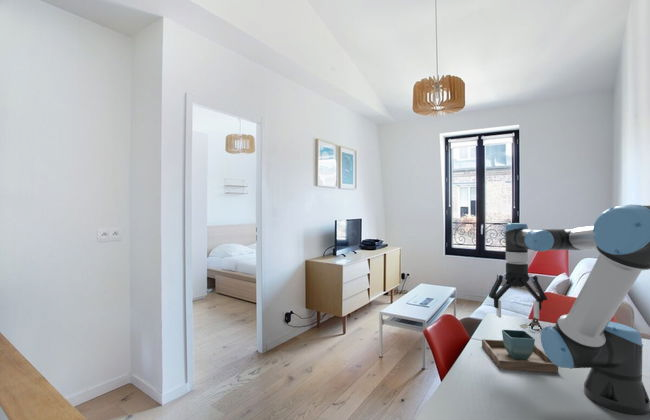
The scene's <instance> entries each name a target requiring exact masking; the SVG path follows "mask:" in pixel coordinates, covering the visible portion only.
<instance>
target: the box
mask: <svg viewBox="0 0 650 420" xmlns="http://www.w3.org/2000/svg"><path fill="white" fill-rule="evenodd" d="M481 347H482V348H483V350H484V351H485V352H486V353H487V355H488V357H490V358H491V360H492V361H493V363H494V364H495V365H496V366H497V368H498V369H499V370H510V371H511V370H513V371H524V372H525V371H528V372H541V373H542V372H544V373H555V374H556V373H557V374H559V367H558V366H556V365H555V364H553V363H552V362H551V361H550V360H549V358H548V357H547V355H546V354H545V352H544V350H542V349H541V348H540V347H538V345H536V344H535V343H534V349H533V352H532V355H531V356H530V357H529V358H528V359H527V360H524V359H513V358H512V357H511V356H510V355H509V354H508V352H507V350H506V348H505V346H504V343H503V339H486V338H485V339H484V338H483V339H481Z"/></svg>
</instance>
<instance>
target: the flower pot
mask: <svg viewBox="0 0 650 420" xmlns="http://www.w3.org/2000/svg"><path fill="white" fill-rule="evenodd" d="M501 335H502V340H503V343H504V346H505V348H506V350H507V352H508V354H509V355H510V356H511V357H512V358H513V359H524V360H527V359H528V358H529V357H530V356H531V355H532V352H533V349H534V344H535V342H536V339H535V338H534V337H533V336H532V335H531V334H530V333H528V332H527V331H525V330H518V329H517V330H516V329H514V330H513V329H501Z"/></svg>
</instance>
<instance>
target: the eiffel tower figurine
mask: <svg viewBox="0 0 650 420" xmlns="http://www.w3.org/2000/svg"><path fill="white" fill-rule="evenodd" d="M527 324H528V323H523V324H519V328H521V329H524V330H527V329H526V328H528V326H531V329H530V330H529V332H530V333H534V334H536V331H535V332H533V331H532V330H534V329H533V327H534V326H538V327H540V329H541V330H540V331H542V329H543V328H542V326H541V323H540V322H539V319H536V318H535V317H534V316H533V317H532V320H531V322H530V324H529V325H527ZM531 331H532V332H531Z"/></svg>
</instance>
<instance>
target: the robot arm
mask: <svg viewBox="0 0 650 420" xmlns="http://www.w3.org/2000/svg"><path fill="white" fill-rule="evenodd" d="M504 238H505V239H504V241H505V242H504V243H505V261H506V263H505V275H504V274H499V273H498V274H496V280H495V282H494V283H493V286H492V287H491V289H490V292H489V293H488V297H489V298H490V299H493V308H495V309H496V315H495V316H496V317H498V318H502V300H500V299H501V297H503V296H504V294H506V292H507V291H508V290H509V289H510V288H512V287H514V288H518V287H519V288H523V287H524V288H525V290H527V292H529V293H530V295H531V296H532V297H533V298H534V300H533V302H532V303H533V304H532V305H533V318H534V317H535V318H536V319H538V320H540V310H542V303H543V302H544V301H547V300H548V298H547V295H546V293H545V292H544V290H543V288H542V287H541V286H542V285H540V283H539V279H538V276H537V275H535V274H531V275H529V264H528V263H529V250H531V251H534V252H546V251H580V250H581V251H582V250H594V249H595V250H597V252H598V253H599V255H598V257H597V259H596V261H595V263H594V264H593V266H592V268H591V271H589V272H590V273H589V274H588V275H587V277H586V280H585V281H584V284H583V286H582V287H581V289H580V291H579V293H578V295H577V297H576V298H575V301H574V303H573V304H572V306H571V308H570V310H569V311H568V313H567V314H566V313H565V314H562V315H561V316H559V317H558V319H557V321H556V322H555V323H556V324H554V326H550V325H548V326H545V327H543V328H542V330H540V342H541V347H542V349H543V352H544V353H545V354H546V355H547V357H548V358H549V360H550V361H551V362H552V363H553V364H555V365H556V366H558V368H562V369H563V368H565V369H589V372H588V374H587V376H586V379H585V380H584V383H583V392H584V394H585V395H586V396H587V397H588V398H589V399H590V400H591V401H593V402H595V403H597V405H601V406H603V407H605V408H606V409H607V408H608V409H611V410H613V411H617V412H620V413H624V414H629V415H636V416H637V415H646V414H649V413H650V397H649V396H648V393H647V391H646V387H645V384H644V382H643V346H644V344H643V340H642V337H643V336H642V334H641V332H639V330H637V329H635V328H633V327H631V326H629V325H626V324H622V323H619V322H615V321H612V319H613V317H614V316H615V314H616V313H617V311H618V309H619V307H620V306H621V305H622V303H623V301H624V299H625V298H626V296H627V295H628V293H629V291H630V290H631V288H632V287H633V285H634V284H635V282H636V280H638V278H639V275H640V274H641V273H642V271H649V270H650V205H641V204H627V205H617V206H613V207H610V208H608V209H606V210H605V211H603V212H602V213H600V214H599V216H598V217H597V218H596V220H595V222H594V223H593V225H589V226H579V227H574V228H559V229H558V228H557V229H556V228H541V229H540V228H528V224H527V223H524V222H520V223H519V222H514V223H513V222H511V223H510V222H508V223H506V224H505V232H504ZM504 280H506V281H505V283H504V284H503V285H502V286H501V284H502V283H503V281H504ZM529 281H531V283H532V284H533V287H534V288H535V290H536V291H535V290H534V289H533V288H532V286H531V285H530V284H529V283H528V282H529ZM500 286H501V288H500ZM499 288H500V289H499ZM536 319H535V320H536Z"/></svg>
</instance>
